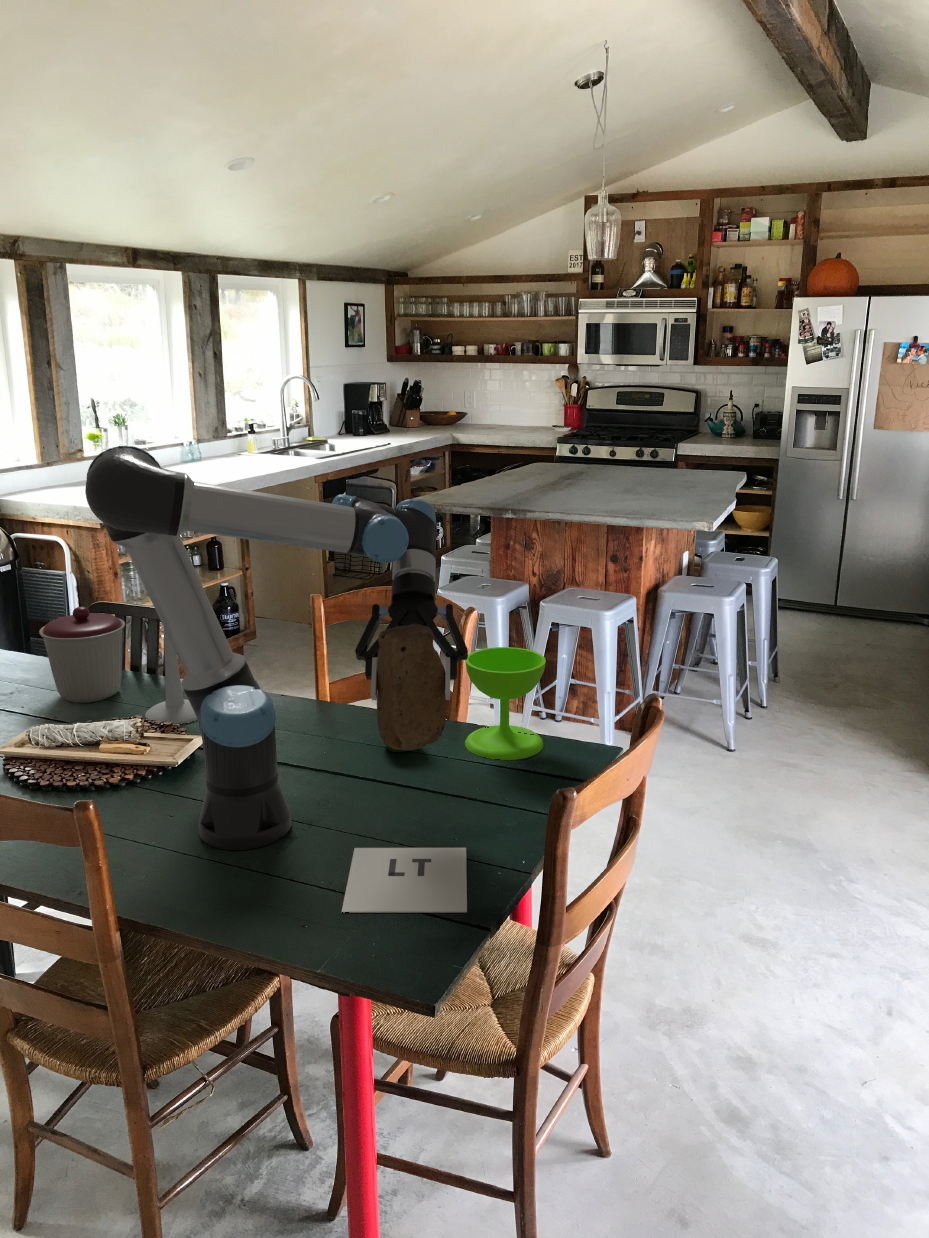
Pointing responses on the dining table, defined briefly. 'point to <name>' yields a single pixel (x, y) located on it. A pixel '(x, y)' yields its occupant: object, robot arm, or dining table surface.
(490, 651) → the wineglass
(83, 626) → the canister
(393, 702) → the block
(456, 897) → the tile
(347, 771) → the dining table surface
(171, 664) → the candlestick
